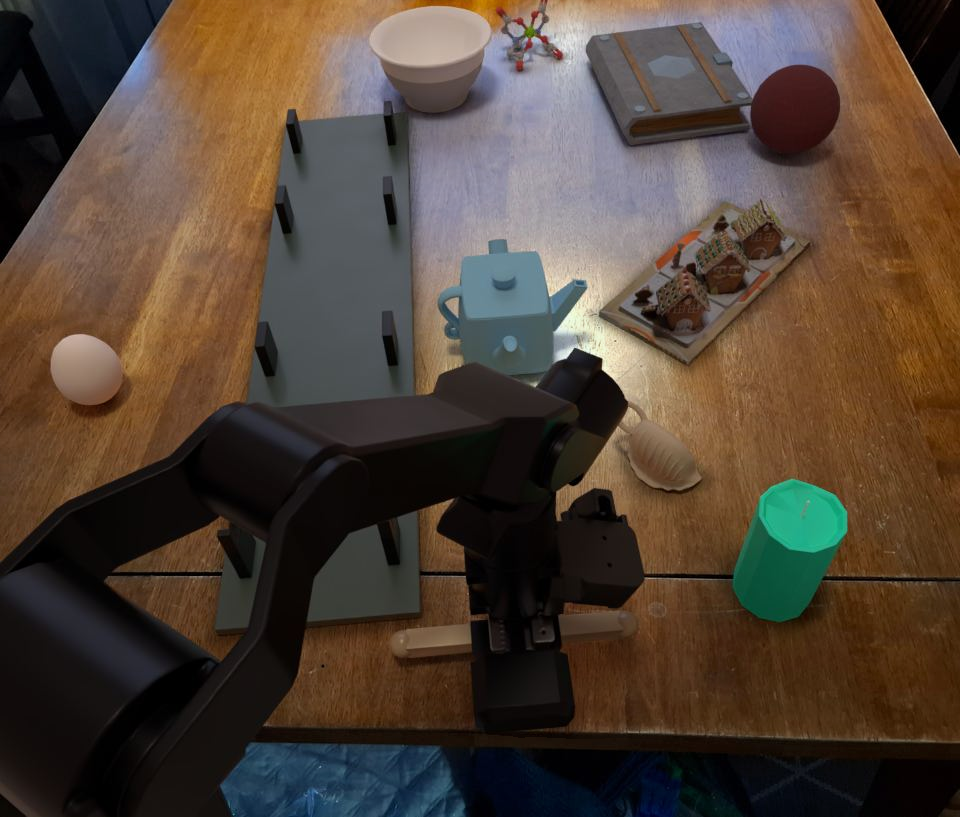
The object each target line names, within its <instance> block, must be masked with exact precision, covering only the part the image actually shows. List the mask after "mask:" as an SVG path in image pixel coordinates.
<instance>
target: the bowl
mask: <svg viewBox="0 0 960 817" xmlns="http://www.w3.org/2000/svg"><path fill="white" fill-rule="evenodd" d="M492 35H493V31H492V28H491V25H490V22H488V21H487V19H486V18H485V17H483V16H482V15H480V14H479V13H477V12H474V11H472V10H468V9H465V8H461V7H456V6H445V5H429V6H420V7H416V8H415V7H414V8H410V9H406V10H404V11H400V12H397V13H395V14H392V15H390V16H388V17H387V18H385V19H383V20H382V21H380V22H379V23H378V24H377V25H376V26H374V27H373V29H372V31H371V32H370V34H369V38H368V44H369V48H370V50H371V52H372V54H374V55H375V56H376V57H377V58H379V63H380V65H381V68H382V70H383V73H384V75H385V77H386V79H387V80H388V81H389V83H390V84H391V85H392V87H393V89H395V91H397V92H398V93H399V95H401V96H402V97H403V98H404V101H405V104H406V105H407V106H408V107H410V108H411V109H413V110H416V111H417V112H422V113H428V114H429V113H433V114H434V113H443V112H448V111H451V110H454V109H456V108H458V107H459V106H461V105H463V104H464V103H465V102H466V100H467V99H468V97H469V96H468V94H469V92H470V90H471V88H472V87H473V86H474V84H475V82H476V81H477V79H478V76H479V74H480V73H481V70H482V67H483V62H484V58H485V48H486V47H487V46H488V45H489V44H490V41H491V40H492Z"/></svg>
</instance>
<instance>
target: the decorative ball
mask: <svg viewBox="0 0 960 817" xmlns="http://www.w3.org/2000/svg"><path fill="white" fill-rule="evenodd" d="M752 99H753V101H752V104H751V106H750V113H749V117H750V123H751V124H750V126H751V128H752V131H753V133H754V135H755V137H756V138H757V139H758V140H759V142H760V143H761V144H762V145H763V146H764V147H766V148H767V149H769V150H771V151H773V152H775V153H779V154H784V155H797V154H802V153H805V152H808V151H810V150H812V149H815V148H816V147H817V146H819V145H820V144H822V143H823V142H824V141H825V140H826V139H827V138H828V137H829V136H830V135H831V133H832V132H833V130H834V129H835V127H836V125H837V122H838V121H839V117H840V111H841V97H840V92H839V90H838V87H837V84H836V83H835V82H834V80H833V78H832V77H831V76H830V75H828V74H827V73H826V72H825V71H824V70H822V69H820V68H819V67H816V66H812V65H809V64H791V65H788V66H785V67H782V68H779V69H778V70H777V69H776V71H774V72H772V73H771V74H770V75H768V76H767V77H766V78H765V79H764V80H763V81H762V82H761V83H760V85H759V86H758V88H757V90H756V92H755V93H754V95H753V97H752Z"/></svg>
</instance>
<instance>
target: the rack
mask: <svg viewBox="0 0 960 817" xmlns="http://www.w3.org/2000/svg"><path fill="white" fill-rule="evenodd" d="M393 108H394V107H393V102H392V100H384V101H383V108H382V109H383V112H382V113H374V114H361V115H352V116H351V115H349V116H338V117H327V118H326V117H325V118H313V119H304V120H299V117H298V112H297V109H296V108H289V109H287V112H286V119H285V127H284V133H283V141H282V148H281V154H280V162H279V169H278V176H277V183H276V190H275V197H274V205H273V212H272V219H271V220H272V221H271V226H270V231H269V232H270V233H269V239H268V240H269V241H268V248H267V255H266V261H265V268H264V275H263V281H262V289H261V297H260V302H259V309H258V310H259V311H258V318H257V326H256V331H255V332H256V333H255V338H254V345H253V353H252V361H251V367H250V374H249V382H248V388H247V396H246V402H245V403H248V404H251V403H254V402H259V403H265V404H267V405H269V406H273V407H285V406H296V405H308V404H320V403H331V402H343V401H355V400H366V399H378V398H390V397H401V396H413V395H416V376H415V374H416V373H415V371H416V370H415V368H416V367H415V338H414V337H415V336H414V332H415V331H414V298H413V296H414V294H413V263H412V262H413V260H412V259H413V258H412V228H411V227H412V222H411V190H410V188H411V187H410V152H409V117H408V111H398V112H394V109H393ZM419 515H420V514H419V510H418V511H415V512H412V513H409V514H406V515H403V516H400V517H397V518H394V519H391V520H388V521H385V522H382V523H379V524H376V525H373V526H370V527H367V528H364V529H361V530H358V531H355V532H352V533H349V534H348V536H347V537H346V538H345V540H344V541H343V542H342V543H341V545H340V546H339V547H338V548H337V550H336V551H335V552H334V554H333V555H332V556H331V557H330V559H329V560H328V561H327V562H326V564H325V565H324V566H323V567H322V569H321V570H320V571H319V572H318V574H317V575H316V576H315V579H314V582H313V588H312V594H311V600H310V606H309V612H308V617H307V623H306V628H316V627H318V628H319V627H329V626H340V625H351V624H361V623H362V624H363V623H364V624H365V623H375V622H387V621H395V620H397V621H398V620H407V619H408V620H409V619H419V618H422V595H421V594H422V593H421V592H422V590H421V559H420V558H421V555H420V553H421V552H420V551H421V550H420V522H419V521H420V516H419ZM228 522H229V521H228ZM216 538H217V540H218V542H219V544H220V545H221V547H222V550H223V551H224V557H223V565H222V574H221V579H220V580H221V581H220V588H219V594H218V601H217V608H216V615H215V622H214V632H215V633H216V635H217V636H226V635H238V634H244V633H245V632H246V630H247V628H248V625H249V620H250V616H251V611H252V606H253V602H254V597H255V592H256V588H257V583H258V578H259V574H260V569H261V564H262V560H263V555H264V551H265V546H266V543H265V542H263V541H262V540H260V539H258V538H257V537H255V536H253V535H251V534H250V533H248V532H246V531H245V530H243V529H241V528H239V527H238V526H236V525H234V524H233V523H231V522H229V523H228V528H225V529H224V528H223V529H217V530H216Z"/></svg>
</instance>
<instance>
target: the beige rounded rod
mask: <svg viewBox="0 0 960 817" xmlns="http://www.w3.org/2000/svg"><path fill="white" fill-rule="evenodd" d="M558 618H559V625H560V632H561V639H562V645H570V644H583V643H593V642H603V641H616V640H622V639H629V638H632V637H634V636H635V635H636V634H637V632H638V630H639V627H640V626H639V624H640V623H639V619H638V617H637V616H636V615H635V614H634V613H633V612H631V611H629V610H609V611H597V612H586V613H574V614H565V615H564V614H561V615H558ZM388 644H389V650H390V652H391V653H392V655H393V656H395V657H396V658H399V659H406V658H409V659H412V658H425V657H437V656H446V655H457V654H459V655H460V654H467V653H468V654H469V653H470V654H471V653H472V644H471V628H470V623H463V624H452V625H451V624H449V625H441V626H440V625H439V626H428V627H427V626H426V627H417V628H407V629H402V630H397V631H396V632H394V633H393V634H392V636H391V637H390V639H389V643H388Z"/></svg>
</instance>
